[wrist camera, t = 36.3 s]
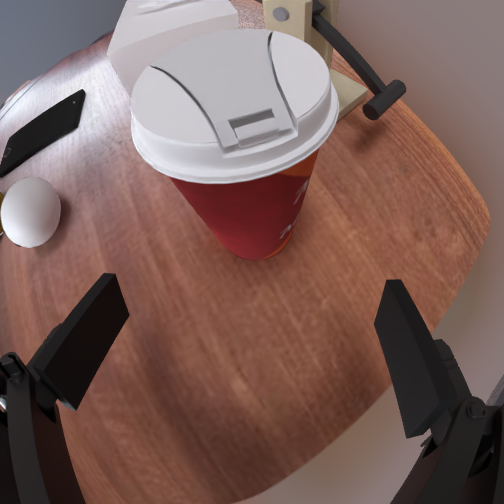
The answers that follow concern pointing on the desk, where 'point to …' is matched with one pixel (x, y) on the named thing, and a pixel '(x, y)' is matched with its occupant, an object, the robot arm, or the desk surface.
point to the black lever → (359, 67)
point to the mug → (0, 199)
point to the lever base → (313, 41)
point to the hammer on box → (162, 31)
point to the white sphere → (30, 212)
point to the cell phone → (42, 131)
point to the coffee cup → (237, 130)
